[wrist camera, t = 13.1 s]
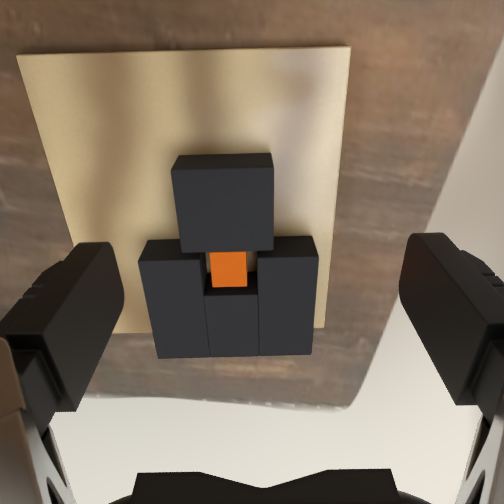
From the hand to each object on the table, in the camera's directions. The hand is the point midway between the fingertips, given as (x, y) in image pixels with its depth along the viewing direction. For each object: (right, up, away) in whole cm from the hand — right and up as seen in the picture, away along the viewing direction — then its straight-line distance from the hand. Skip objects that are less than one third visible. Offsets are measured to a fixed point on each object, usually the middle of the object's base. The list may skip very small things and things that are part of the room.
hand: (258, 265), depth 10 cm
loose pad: (-2, +3, +16) cm, 16 cm away
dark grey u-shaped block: (-2, -2, +19) cm, 19 cm away
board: (-4, +3, +17) cm, 18 cm away
